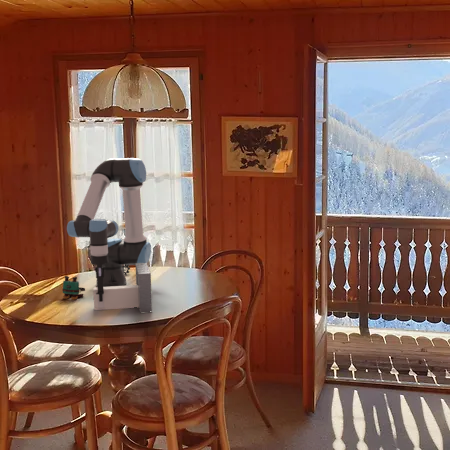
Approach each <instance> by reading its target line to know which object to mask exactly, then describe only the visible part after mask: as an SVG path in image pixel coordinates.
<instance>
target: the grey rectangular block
mask: <svg viewBox="0 0 450 450" xmlns="http://www.w3.org/2000/svg"><path fill="white" fill-rule="evenodd" d="M103 291H104V308H103V309H98V294H96V293H97V292H98V287H96V286H95V287H93V310H94V311H103V310H106V311H107V310H117V309H119V310H121V309H130V308H131V309H133V308H134V307H137V308H139V297H138V285H136V284H133V285H132V284H130V285H123V286H110V287H103Z"/></svg>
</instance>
